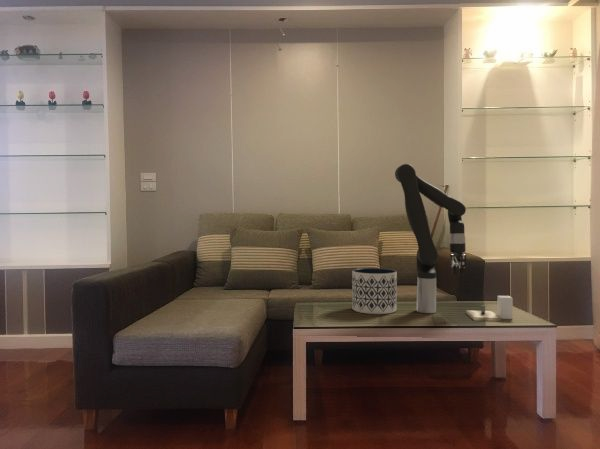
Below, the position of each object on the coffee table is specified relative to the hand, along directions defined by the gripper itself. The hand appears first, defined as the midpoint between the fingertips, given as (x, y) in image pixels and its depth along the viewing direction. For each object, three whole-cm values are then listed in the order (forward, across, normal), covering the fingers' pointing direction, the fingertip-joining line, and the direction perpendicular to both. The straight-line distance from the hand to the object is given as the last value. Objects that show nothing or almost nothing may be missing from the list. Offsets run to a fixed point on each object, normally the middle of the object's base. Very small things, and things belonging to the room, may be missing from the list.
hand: (458, 275), depth 248 cm
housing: (+20, +11, +18) cm, 29 cm away
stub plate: (+20, +9, +8) cm, 23 cm away
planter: (+18, -11, -40) cm, 45 cm away
